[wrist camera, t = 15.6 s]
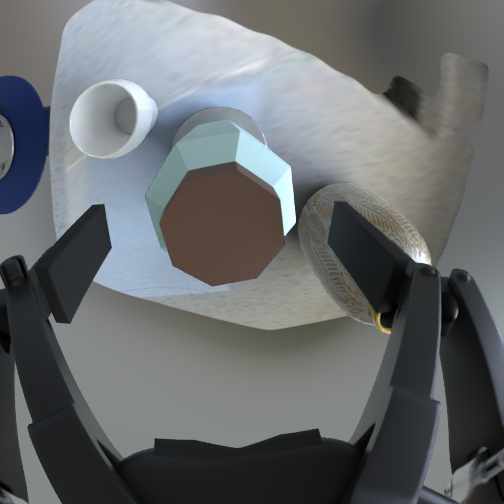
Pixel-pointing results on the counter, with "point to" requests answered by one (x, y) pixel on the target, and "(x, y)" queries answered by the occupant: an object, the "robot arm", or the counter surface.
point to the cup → (111, 118)
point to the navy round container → (218, 115)
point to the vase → (327, 263)
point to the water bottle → (222, 204)
